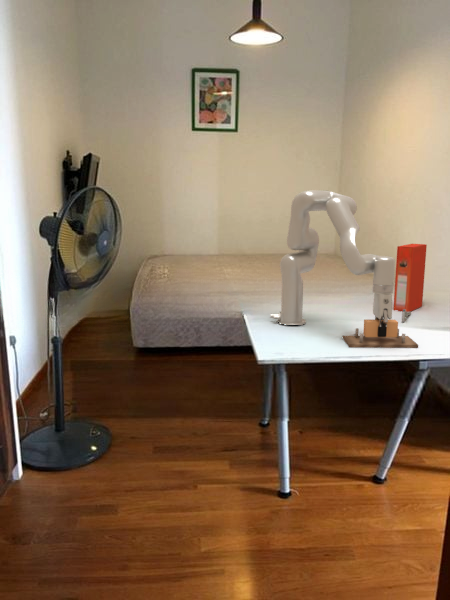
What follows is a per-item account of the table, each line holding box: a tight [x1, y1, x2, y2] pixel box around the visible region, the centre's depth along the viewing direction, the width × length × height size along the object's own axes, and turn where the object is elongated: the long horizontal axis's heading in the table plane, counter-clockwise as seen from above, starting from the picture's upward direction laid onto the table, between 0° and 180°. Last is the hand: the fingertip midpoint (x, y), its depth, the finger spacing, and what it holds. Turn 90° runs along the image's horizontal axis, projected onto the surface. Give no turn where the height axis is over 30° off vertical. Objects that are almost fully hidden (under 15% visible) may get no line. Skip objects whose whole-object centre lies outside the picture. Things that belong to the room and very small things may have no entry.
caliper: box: [401, 309, 412, 324], centre depth 235 cm, size 20×1×6 cm, turn 151°
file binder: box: [392, 243, 428, 313], centre depth 251 cm, size 8×17×32 cm, turn 138°
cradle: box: [342, 328, 419, 349], centre depth 196 cm, size 26×12×5 cm, turn 89°
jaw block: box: [362, 319, 399, 337], centre depth 195 cm, size 4×12×6 cm, turn 89°
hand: (380, 334), depth 196 cm, fingers closed on jaw block, 4 cm apart
